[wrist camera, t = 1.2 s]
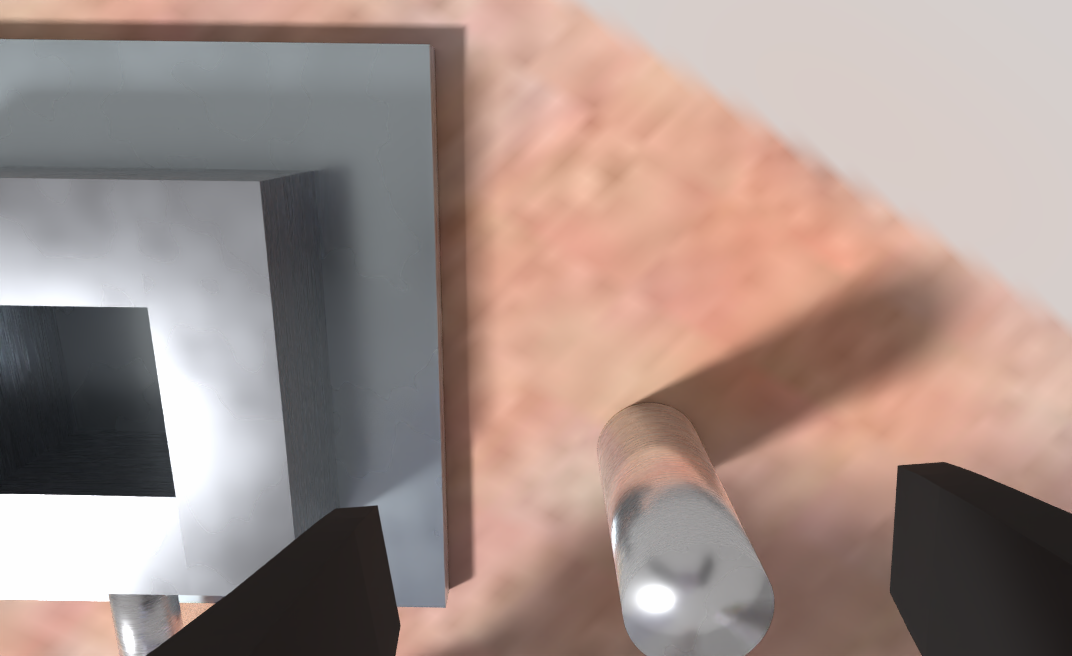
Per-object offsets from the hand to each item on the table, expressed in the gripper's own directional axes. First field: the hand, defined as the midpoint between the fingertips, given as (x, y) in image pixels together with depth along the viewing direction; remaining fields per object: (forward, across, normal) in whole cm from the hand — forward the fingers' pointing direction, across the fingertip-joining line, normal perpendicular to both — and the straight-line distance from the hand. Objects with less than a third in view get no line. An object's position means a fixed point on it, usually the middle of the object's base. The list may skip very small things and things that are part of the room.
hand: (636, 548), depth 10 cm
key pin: (+10, -1, +4) cm, 11 cm away
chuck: (+10, +12, -1) cm, 16 cm away
